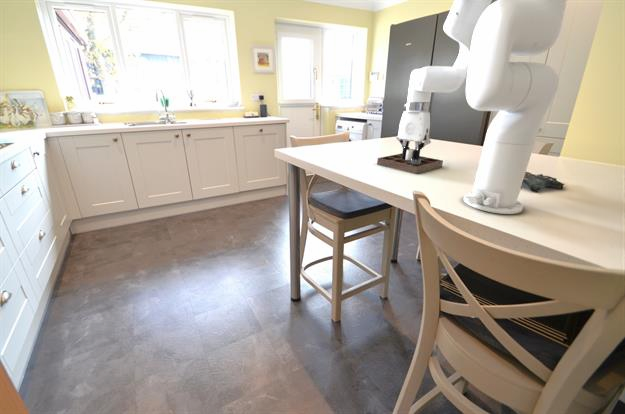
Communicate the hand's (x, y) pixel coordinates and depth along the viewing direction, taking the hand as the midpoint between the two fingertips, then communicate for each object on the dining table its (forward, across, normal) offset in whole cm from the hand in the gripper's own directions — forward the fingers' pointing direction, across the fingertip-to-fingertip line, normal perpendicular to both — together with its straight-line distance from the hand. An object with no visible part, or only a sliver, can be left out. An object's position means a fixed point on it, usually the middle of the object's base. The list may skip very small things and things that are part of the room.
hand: (410, 158), depth 106 cm
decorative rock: (+3, +36, +11) cm, 38 cm away
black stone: (+2, +6, -6) cm, 8 cm away
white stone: (0, 0, 0) cm, 0 cm away
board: (+3, 0, 0) cm, 3 cm away
